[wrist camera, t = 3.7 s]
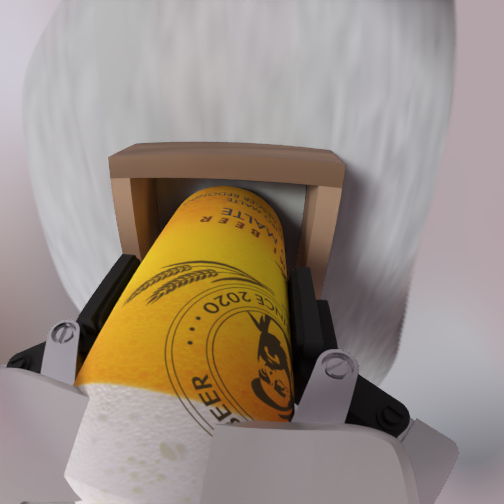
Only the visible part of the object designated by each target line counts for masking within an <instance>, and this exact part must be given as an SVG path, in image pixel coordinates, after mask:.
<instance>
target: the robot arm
mask: <svg viewBox="0 0 504 504" xmlns="http://www.w3.org/2000/svg"><path fill="white" fill-rule="evenodd" d="M140 264H141V262H140V259H138V258H137V257H136V255H130V254H122V255H121V256H120V258H119V259H118V260H117V262H116V263H115V264H114V266H113V267H112V268H111V270H110V271H109V273H108V274H107V275H106V277H105V278H104V279H103V281H102V282H101V284H100V285H99V287H98V288H97V289H96V291H95V292H94V294H93V295H92V297H91V298H90V300H89V301H88V303H87V304H86V305H85V307H84V309H83V310H82V312H81V313H80V315H79V317H78V319H77V321H76V322H75V321H73V320H62V321H59V322H58V323H56V324H55V325H54V326H52V328H51V329H50V330H49V333H48V337H47V341H45V342H43V343H41V344H38V345H36V346H34V347H31V348H29V349H27V350H24V351H22V352H20V353H17V354H16V355H14V356H13V357H12V358H11V359H10V360H9V362H8V364H7V366H6V365H5V364H4V365H1V366H0V504H75V502H78V501H82V499H81V498H80V497H79V496H78V495H77V494H76V493H75V492H74V490H73V489H72V488H71V486H70V485H69V483H68V482H67V480H66V479H65V477H64V473H65V470H66V467H67V464H68V461H69V458H70V455H71V452H72V449H73V446H74V443H75V440H76V436H77V433H78V430H79V427H80V425H81V422H82V419H83V416H84V413H85V410H86V408H87V405H88V402H89V400H90V397H88V396H87V395H86V394H85V393H83V392H82V391H81V390H80V389H79V388H78V387H76V386H73V384H74V382H75V380H76V378H77V376H78V374H79V372H80V370H81V368H82V366H83V364H84V362H85V360H86V358H87V356H88V354H89V352H90V350H91V348H92V346H93V345H94V343H95V341H96V339H97V337H98V335H99V333H100V332H101V330H102V328H103V326H104V324H105V323H106V321H107V319H108V317H109V316H110V314H111V312H112V310H113V309H114V307H115V305H116V304H117V302H118V300H119V298H120V297H121V295H122V293H123V292H124V290H125V288H126V287H127V285H128V283H129V282H130V280H131V279H132V277H133V275H134V274H135V272H136V271H137V269H138V267H139V266H140ZM288 297H289V311H290V326H291V342H292V360H293V379H294V402H295V404H296V405H297V406H298V408H297V410H296V412H295V414H294V416H293V419H292V421H291V422H275V421H255V420H253V421H246V422H237V423H227V424H216V425H215V427H214V433H213V438H212V443H211V448H210V454H209V459H208V464H207V468H206V473H205V478H204V482H203V488H202V493H201V499H200V504H434V502H435V500H436V499H437V497H438V495H439V494H440V492H441V490H442V488H443V486H444V485H445V483H446V481H447V479H448V477H449V475H450V473H451V471H452V469H453V467H454V465H455V463H456V461H457V459H458V455H459V452H458V447H457V445H456V443H455V442H454V441H453V440H451V439H450V438H448V437H446V436H445V435H443V434H441V433H440V432H438V431H437V430H435V429H433V428H432V427H430V426H428V425H427V424H425V423H424V422H422V421H420V420H419V419H416V420H413V419H411V418H410V415H409V411H408V410H407V408H406V407H405V406H404V405H403V404H402V403H401V402H399V401H398V400H396V399H395V398H393V397H392V396H390V395H389V394H387V393H386V392H384V391H382V390H381V389H380V388H378V387H377V386H375V385H374V384H372V383H371V382H369V381H368V380H366V379H365V378H363V377H362V376H360V375H359V374H358V372H359V365H358V362H357V360H356V359H355V358H354V356H352V355H351V354H350V353H348V352H346V351H344V350H339V349H338V347H337V342H336V337H335V332H334V327H333V323H332V318H331V314H330V309H329V305H328V301H327V300H316V296H315V291H314V286H313V281H312V276H311V270H310V267H298V266H296V268H295V270H290V275H289V281H288Z"/></svg>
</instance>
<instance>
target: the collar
mask: <svg viewBox="0 0 504 504" xmlns="http://www.w3.org/2000/svg"><path fill="white" fill-rule="evenodd" d="M108 160H109V169H110V178H111V186H112V194H113V201H114V207H115V214H116V220H117V226H118V231H119V237H120V242H121V247H122V252H123V254H130V255H136V257H137V258H138V259H140V262H141V263H142V261H143V260H144V258H145V256H146V255H147V253H148V252H149V250H150V249H151V247H152V246H153V244H154V243H155V241H156V240H157V238H158V237H159V235H160V229H159V219H158V210H157V199H156V187H155V178H209V179H234V180H253V181H268V182H282V183H294V184H305V185H307V189H306V197H305V205H304V212H303V220H302V227H301V234H300V241H299V248H298V255H297V261H296V266H298V267H310V270H311V276H312V281H313V286H314V291H315V296H316V300H319V299H320V295H321V291H322V286H323V282H324V278H325V274H326V269H327V265H328V260H329V255H330V251H331V246H332V241H333V236H334V231H335V226H336V221H337V215H338V210H339V204H340V199H341V193H342V187H343V181H344V174H345V168H346V165H345V164H344V163H343V162H342V161H341V160H340V159H339V158H338V157H337V156H336V155H335V154H334V153H333V152H332V151H331V150H323V149H314V148H305V147H295V146H283V145H270V144H254V143H232V142H162V143H140V144H134V145H132V146H130V147H128V148H126V149H124V150H122V151H120V152H118V153H116V154H114V155H112V156H110V157H108Z"/></svg>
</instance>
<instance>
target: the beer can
mask: <svg viewBox="0 0 504 504" xmlns="http://www.w3.org/2000/svg"><path fill="white" fill-rule="evenodd" d="M73 386H76V387H78V388H79V389H80V390H81V391H82V392H83V393H85V394H86V395H87V396H88V397H90V400H89V402H88V405H87V408H86V410H85V413H84V416H83V419H82V422H81V425H80V427H79V430H78V433H77V436H76V440H75V443H74V446H73V449H72V452H71V455H70V458H69V461H68V464H67V467H66V470H65V473H64V477H65V479H66V480H67V482H68V483H69V485H70V486H71V488H72V489H73V490H74V492H75V493H76V494H77V495H78V496H79V497H80V498H81V499H82V501H78V502H75V504H200V499H201V493H202V488H203V482H204V478H205V473H206V468H207V464H208V459H209V454H210V448H211V443H212V438H213V433H214V427H215V425H216V424H227V423H237V422H246V421H253V420H255V421H275V422H291V421H292V419H293V416H294V414H295V402H294V379H293V360H292V342H291V326H290V311H289V297H288V284H287V271H286V259H285V247H284V236H283V230H282V226H281V223H280V220H279V218H278V216H277V215H276V213H275V212H274V210H273V209H272V208H271V207H270V205H269V204H268V203H267V202H265V201H264V200H263V199H262V198H260V197H259V196H257V195H256V194H254V193H252V192H250V191H247V190H245V189H242V188H238V187H233V186H214V187H209V188H206V189H202V190H200V191H198V192H196V193H194V194H193V195H191V196H189V197H188V198H187V199H186V200H185V201H184V202H183V203H182V204H181V205H180V207H179V208H178V209H177V211H176V212H175V214H174V215H173V216H172V218H171V219H170V221H169V222H168V224H167V225H166V226H165V228H164V229H163V231H162V232H161V234H160V235H159V237H158V238H157V240H156V241H155V243H154V244H153V246H152V247H151V249H150V250H149V252H148V253H147V255H146V256H145V258H144V260H143V261H142V263H141V264H140V266H139V267H138V269H137V271H136V272H135V274H134V275H133V277H132V279H131V280H130V282H129V283H128V285H127V287H126V288H125V290H124V292H123V293H122V295H121V297H120V298H119V300H118V302H117V304H116V305H115V307H114V309H113V310H112V312H111V314H110V316H109V317H108V319H107V321H106V323H105V324H104V326H103V328H102V330H101V332H100V333H99V335H98V337H97V339H96V341H95V343H94V345H93V346H92V348H91V350H90V352H89V354H88V356H87V358H86V360H85V362H84V364H83V366H82V368H81V370H80V372H79V374H78V376H77V378H76V380H75V382H74V384H73Z"/></svg>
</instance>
